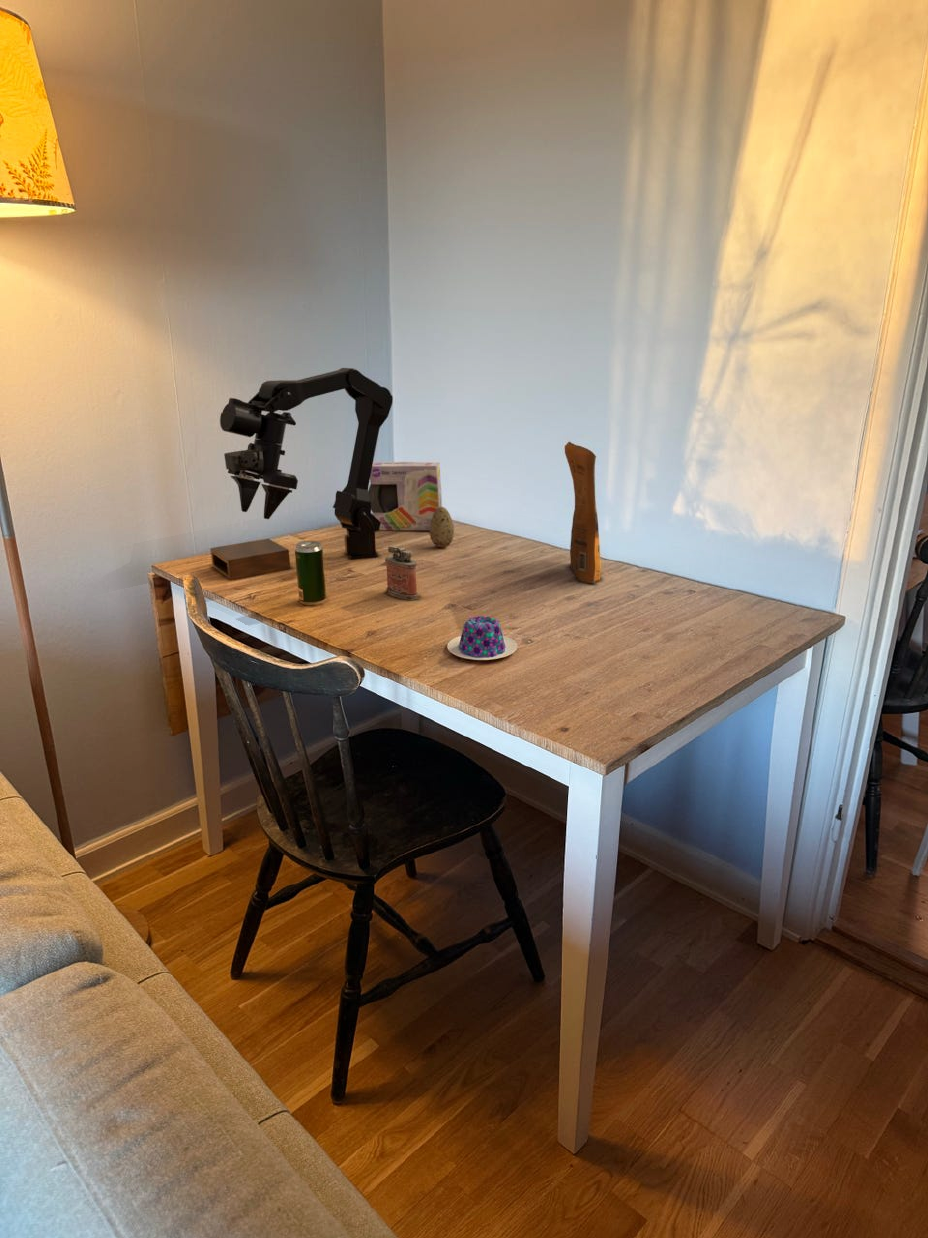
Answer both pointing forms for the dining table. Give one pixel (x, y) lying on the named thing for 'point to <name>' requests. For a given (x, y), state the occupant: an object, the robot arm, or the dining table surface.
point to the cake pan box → (405, 494)
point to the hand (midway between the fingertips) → (254, 515)
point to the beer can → (310, 572)
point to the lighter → (401, 574)
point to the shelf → (250, 558)
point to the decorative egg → (441, 528)
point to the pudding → (482, 640)
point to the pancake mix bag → (584, 515)
